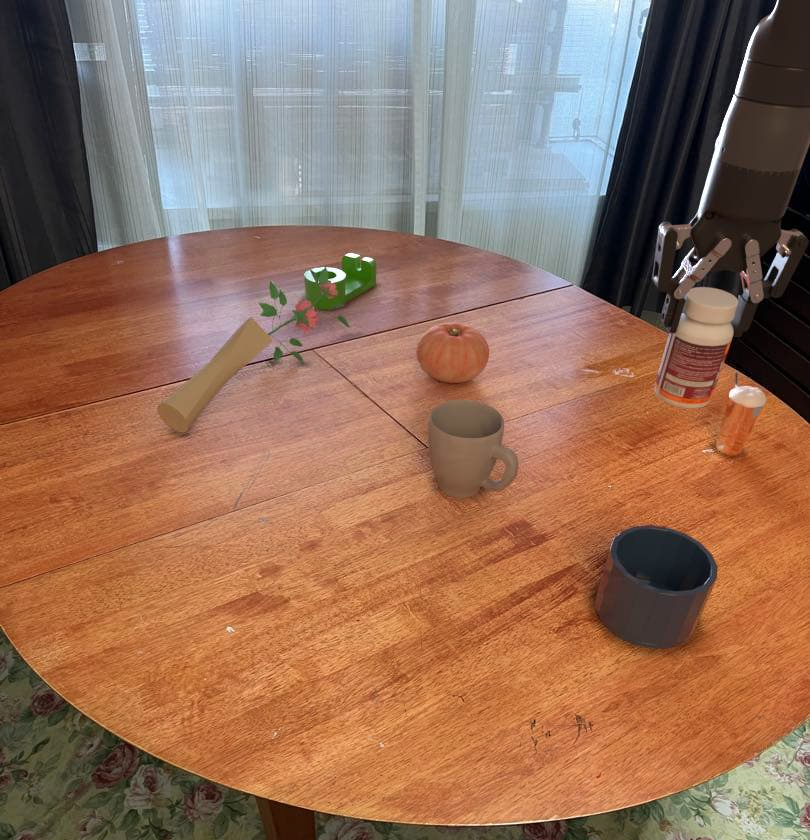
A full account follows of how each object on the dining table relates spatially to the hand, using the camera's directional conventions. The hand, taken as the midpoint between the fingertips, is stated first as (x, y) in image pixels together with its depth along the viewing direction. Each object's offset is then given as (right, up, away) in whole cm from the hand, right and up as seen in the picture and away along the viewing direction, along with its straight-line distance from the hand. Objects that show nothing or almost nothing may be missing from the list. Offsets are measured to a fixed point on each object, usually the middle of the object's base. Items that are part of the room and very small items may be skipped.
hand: (702, 331), depth 79 cm
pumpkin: (-24, +3, +37) cm, 44 cm away
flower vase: (-53, +2, +33) cm, 62 cm away
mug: (-23, -16, +15) cm, 32 cm away
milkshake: (+13, -9, +26) cm, 30 cm away
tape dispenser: (-43, +23, +59) cm, 76 cm away
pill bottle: (0, -6, +5) cm, 8 cm away
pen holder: (-6, -29, +1) cm, 30 cm away
